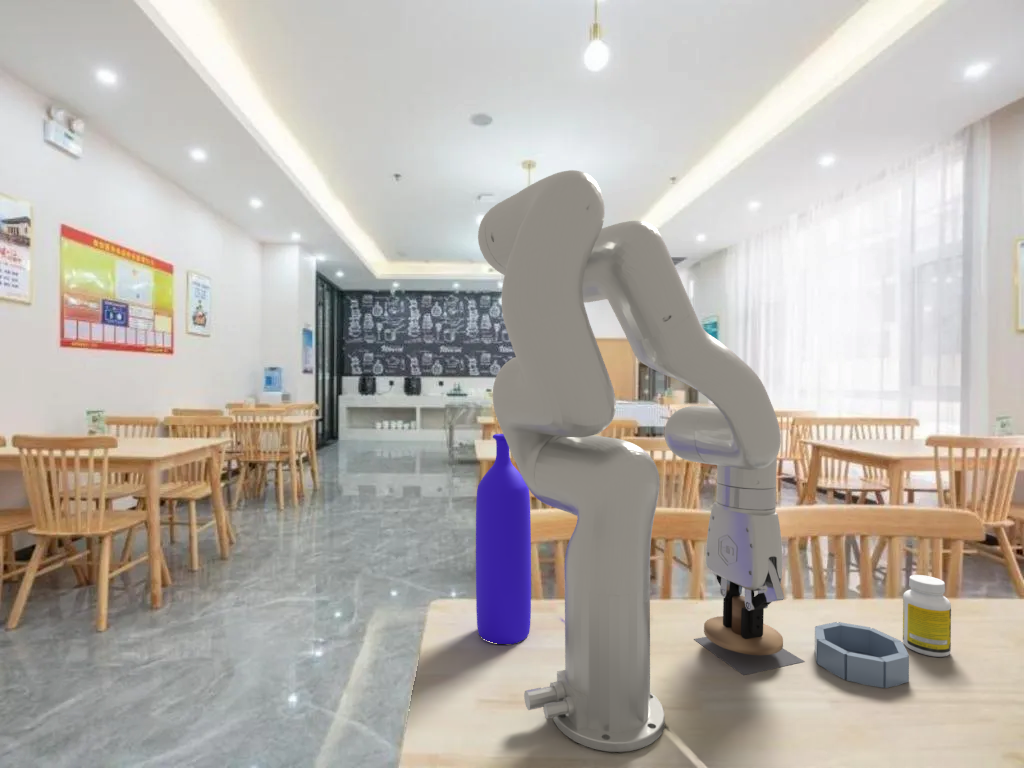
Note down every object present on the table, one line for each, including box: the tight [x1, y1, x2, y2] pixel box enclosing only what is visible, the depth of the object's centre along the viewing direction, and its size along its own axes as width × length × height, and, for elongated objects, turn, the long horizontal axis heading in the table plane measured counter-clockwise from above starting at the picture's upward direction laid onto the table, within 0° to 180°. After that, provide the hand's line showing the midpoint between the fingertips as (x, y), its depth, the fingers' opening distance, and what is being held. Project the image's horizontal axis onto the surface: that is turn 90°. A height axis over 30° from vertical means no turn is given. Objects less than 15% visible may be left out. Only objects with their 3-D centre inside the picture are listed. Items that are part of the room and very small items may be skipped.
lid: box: [703, 595, 784, 655], centre depth 75 cm, size 10×10×5 cm
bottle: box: [475, 433, 532, 645], centre depth 82 cm, size 8×8×30 cm
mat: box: [693, 636, 805, 676], centre depth 75 cm, size 10×10×1 cm
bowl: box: [814, 621, 910, 689], centre depth 71 cm, size 10×10×4 cm
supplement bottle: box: [902, 574, 952, 658], centre depth 77 cm, size 5×5×10 cm
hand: (742, 630), depth 75 cm, fingers closed on lid, 2 cm apart
